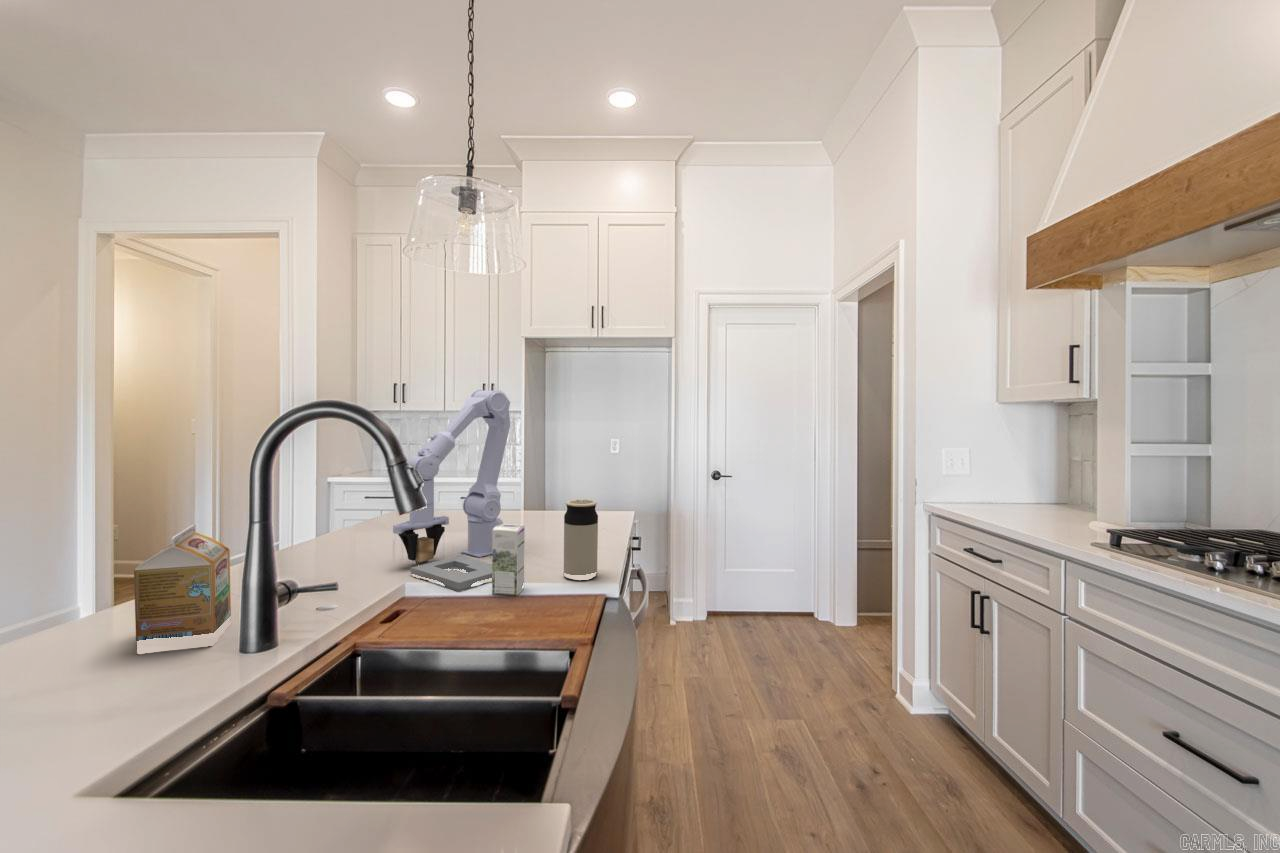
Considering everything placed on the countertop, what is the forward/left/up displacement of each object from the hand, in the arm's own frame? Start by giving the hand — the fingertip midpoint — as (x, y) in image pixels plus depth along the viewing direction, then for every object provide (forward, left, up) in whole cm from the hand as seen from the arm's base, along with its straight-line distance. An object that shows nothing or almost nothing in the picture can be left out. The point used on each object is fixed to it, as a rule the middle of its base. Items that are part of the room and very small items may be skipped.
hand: (422, 557), depth 151 cm
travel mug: (-18, +37, -2) cm, 41 cm away
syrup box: (0, +32, -2) cm, 32 cm away
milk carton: (+52, +8, -2) cm, 52 cm away
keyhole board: (0, +15, -2) cm, 15 cm away
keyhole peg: (0, 0, -2) cm, 2 cm away
